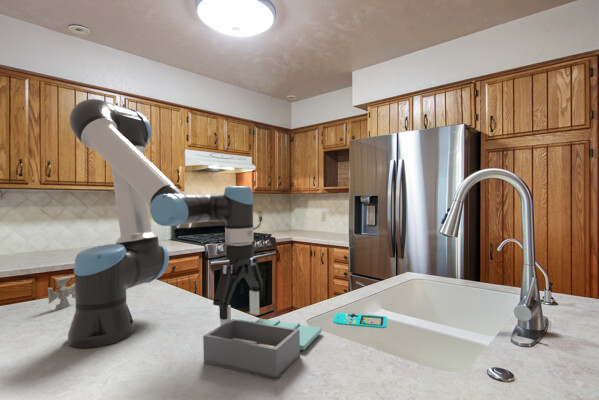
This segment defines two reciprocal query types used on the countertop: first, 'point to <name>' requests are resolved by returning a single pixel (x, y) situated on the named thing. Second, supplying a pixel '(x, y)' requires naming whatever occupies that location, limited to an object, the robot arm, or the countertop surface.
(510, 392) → the countertop surface
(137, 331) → the countertop surface
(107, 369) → the countertop surface
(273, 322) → the lid
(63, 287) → the cross
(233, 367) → the tub
